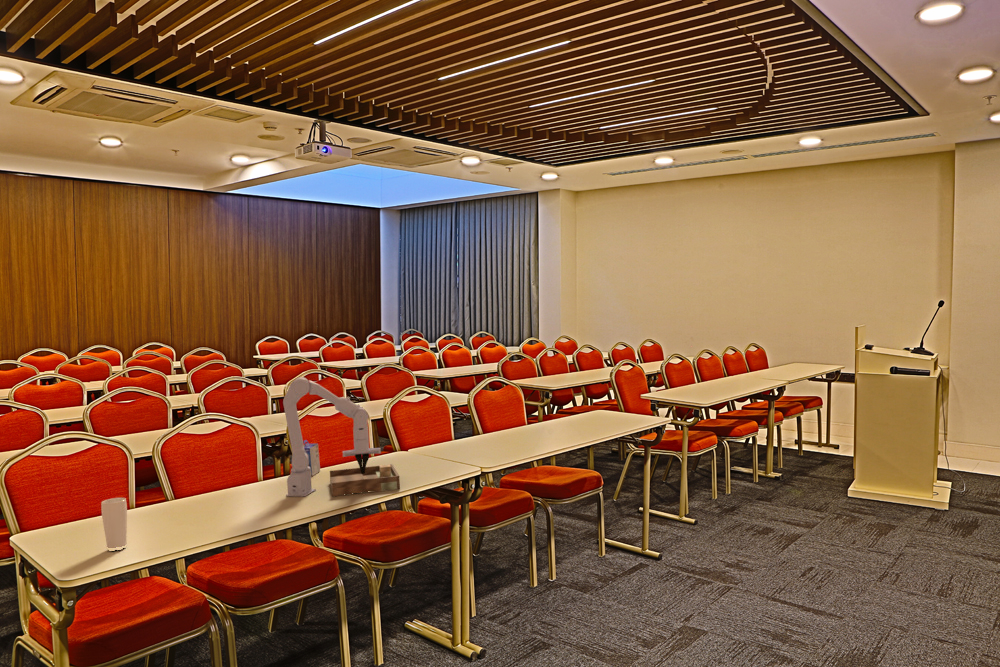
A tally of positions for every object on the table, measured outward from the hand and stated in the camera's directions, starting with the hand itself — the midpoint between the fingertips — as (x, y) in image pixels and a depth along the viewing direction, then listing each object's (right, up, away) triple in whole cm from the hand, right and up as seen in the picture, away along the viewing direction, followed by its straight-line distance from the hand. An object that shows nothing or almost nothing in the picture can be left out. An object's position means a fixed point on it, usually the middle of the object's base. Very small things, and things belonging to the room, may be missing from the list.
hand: (362, 473), depth 283 cm
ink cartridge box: (-27, -6, +26) cm, 38 cm away
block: (+9, -2, +2) cm, 9 cm away
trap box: (+1, -5, 0) cm, 5 cm away
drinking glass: (-62, -11, -63) cm, 90 cm away
